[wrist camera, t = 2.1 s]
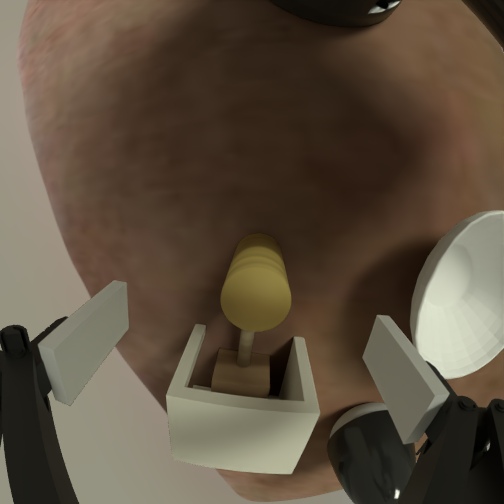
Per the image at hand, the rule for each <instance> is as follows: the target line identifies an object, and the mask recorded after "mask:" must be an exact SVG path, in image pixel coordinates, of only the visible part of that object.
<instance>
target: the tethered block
mask: <svg viewBox="0 0 504 504" xmlns="http://www.w3.org/2000/svg"><path fill="white" fill-rule="evenodd" d="M221 307H222V310H223V312H224V314H225V316H226V317H227V319H228V320H229V321H230V322H231V323H233V324H234V325H235V326H237V327H239V328H241V335H240V343H239V350H238V351H235V350H228V349H221V348H219V352H218V356H217V361H216V365H215V369H214V373H213V377H212V385H211V392H216V393H223V394H230V395H237V396H245V397H254V398H264V399H267V398H268V394H269V390H270V362H269V355H266V354H258V353H252V347H253V340H254V334H255V332H261V331H266V330H269V329H272V328H274V327H276V326H277V325H279V324H280V323H281V322H282V321H283V320H284V319H285V318H286V316H287V315H288V313H289V310H290V307H291V293H290V288H289V283H288V279H287V274H286V270H285V265H284V261H283V256H282V252H281V248H280V246H279V244H278V243H277V242H276V240H275V239H273V238H272V237H271V236H269V235H266V234H262V233H255V234H250V235H248V236H246V237H245V238H243V239H242V240H241V241H240V242H239V244H238V246H237V248H236V251H235V254H234V256H233V259H232V262H231V265H230V268H229V271H228V274H227V277H226V280H225V283H224V286H223V289H222V292H221Z"/></svg>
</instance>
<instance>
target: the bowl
mask: <svg viewBox="0 0 504 504" xmlns="http://www.w3.org/2000/svg"><path fill="white" fill-rule="evenodd" d="M410 328H411V334H412V341H413V346H414V347H415V348H416V350H417V351H418V352H419V354H420V355H421V356H422V357H423V359H424V360H425V361H428V362H429V363H431V364H432V365H434V366H435V367H436V368H437V370H438V371H439V372H440V375H442V376H443V377H444V378H445V379H452V378H458V377H463V376H465V375H468V374H470V373H472V372H474V371H477V370H478V369H480V368H481V367H482V366H484V365H485V364H487V363H488V362H490V361H491V360H492V359H493V358H494V357H495V356H496V355H497V354H498V353H499V352H500V351H501V350H502V349H503V348H504V211H497V210H495V211H486V212H480V213H477V214H474V215H472V216H470V217H468V218H466V219H464V220H462V221H461V222H459V223H457V224H456V225H455V226H454V227H453V228H452V229H451V230H450V231H448V232H447V233H446V234H445V235H444V236H443V237H442V238H441V239H440V240H439V242H438V243H437V244H436V246H435V247H434V249H433V250H432V251H431V253H430V254H429V255H428V257H427V259H426V261H425V263H424V265H423V268H422V270H421V272H420V274H419V276H418V279H417V282H416V286H415V289H414V293H413V296H412V303H411V315H410Z"/></svg>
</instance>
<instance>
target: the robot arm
mask: <svg viewBox="0 0 504 504" xmlns="http://www.w3.org/2000/svg"><path fill="white" fill-rule="evenodd" d="M270 1H272V2H273V3H275V4H276V5H278V6H279V7H281V8H283V9H284V10H286V11H288V12H290V13H293V14H295V15H297V16H300V17H302V18H305V19H308V20H311V21H315V22H318V23H322V24H327V25H333V26H341V27H361V26H368V25H372V24H376V23H378V22H381V21H383V20H384V19H386V18H387V17H389V16H390V15H391V14H392V12H393V11H394V10H395V9H396V8H397V7H398V6H399V4H400V3H401V1H402V0H270ZM462 1H463V2H464V3H465V4H466V5H467V6H468V8H469V9H470V10H471V11H472V12H473V13H474V14H475V15H476V16H477V17H478V18H479V20H480V21H481V22H482V23H483V24H484V25H485V26H486V28H487V29H488V30H489V31H490V32H491V34H492V35H493V36H494V37H495V39H496V40H497V41H498V43H499V44H500V45H501V47H502V48H503V51H504V0H462ZM128 329H129V320H128V302H127V282H122V281H116V280H114V281H112V282H111V283H110V284H109V285H107V286H106V287H105V288H104V289H102V290H101V291H100V292H99V293H97V294H96V295H95V296H94V297H92V298H91V299H90V300H89V301H88V302H86V303H85V304H84V305H83V306H82V307H80V308H79V309H78V310H77V311H76V312H74V313H73V314H72V315H71V316H70V317H63V318H60V319H58V320H56V321H55V322H54V323H52V324H51V325H50V327H48V328H46V329H45V331H43V332H42V333H41V334H39V335H38V336H37V337H36V338H35V339H34V340H32V341H31V342H30V341H29V337H28V333H27V329H26V328H24V327H23V326H20V325H11V326H7V327H5V328H3V329H2V330H1V331H0V344H1V348H2V351H1V350H0V445H1V439H2V434H3V442H4V451H5V459H6V466H7V472H8V478H9V484H10V488H11V493H12V497H13V502H14V504H79V502H78V500H77V497H76V495H75V492H74V489H73V487H72V484H71V481H70V478H69V475H68V472H67V469H66V466H65V463H64V460H63V457H62V453H61V449H60V446H59V443H58V439H57V434H56V430H55V426H54V421H53V417H52V412H51V406H50V401H49V398H48V396H47V394H48V393H49V392H50V391H51V390H52V391H53V394H54V397H55V399H56V400H58V401H60V402H62V403H64V404H67V405H69V406H71V404H72V403H73V402H74V400H75V399H76V397H77V396H78V395H79V393H80V392H81V391H82V389H83V388H84V387H85V385H86V384H87V382H88V381H89V379H90V378H91V377H92V375H93V374H94V373H95V372H96V370H97V369H98V367H99V366H100V365H101V364H102V362H103V361H104V360H105V358H106V357H107V356H108V354H109V353H110V352H111V351H112V349H113V348H114V347H115V345H116V344H117V343H118V342H119V340H120V339H121V338H122V336H123V335H124V334H125V333H126V331H127V330H128ZM362 358H363V360H364V362H365V364H366V366H367V368H368V370H369V372H370V374H371V376H372V378H373V380H374V382H375V384H376V386H377V388H378V390H379V392H380V395H381V397H382V399H383V401H384V403H385V405H386V407H387V409H388V411H389V413H390V416H391V418H392V420H393V422H394V424H395V426H396V429H397V431H398V433H399V435H400V437H401V440H402V442H403V444H408V443H414V442H418V441H419V440H420V438H421V437H422V436H423V434H424V433H426V435H427V437H428V439H427V440H426V441H425V443H424V444H423V445H422V447H421V448H420V449H419V450H418V452H417V453H416V455H418V454H419V453H420V452H421V453H420V455H419V458H418V460H417V463H416V465H415V467H414V470H413V472H412V474H411V476H410V479H409V481H408V483H407V485H406V487H405V489H404V491H403V493H402V495H401V497H400V499H399V501H398V503H397V504H504V400H501V399H493V400H492V401H491V402H490V404H489V405H488V407H487V408H482V407H478V406H477V405H476V403H475V402H474V401H473V400H472V399H470V398H468V397H465V396H457V395H456V393H455V392H454V391H453V389H452V388H451V387H450V385H449V384H448V383H447V381H446V380H444V377H443V376H442V375H440V372H439V371H438V370H437V368H436V367H435V366H434V365H432V364H431V363H429V362H428V361H425V360H424V359H423V357H422V356H421V355H420V354H419V352H418V351H417V350H416V348H415V347H414V346H413V345H412V343H411V342H410V341H409V340H408V338H407V337H406V336H405V335H404V333H403V332H402V331H401V330H400V329H399V327H398V326H397V325H396V324H395V322H394V321H393V320H392V319H391V318H390V316H385V315H377V316H376V319H375V323H374V326H373V329H372V332H371V334H370V337H369V340H368V343H367V346H366V349H365V351H364V354H363V357H362ZM489 443H490V448H489V450H488V451H487V445H488V444H489Z"/></svg>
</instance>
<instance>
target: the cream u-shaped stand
mask: <svg viewBox="0 0 504 504" xmlns="http://www.w3.org/2000/svg"><path fill="white" fill-rule="evenodd" d="M205 331H206V325H203V324H195V326H194V329H193V331H192V333H191V336H190V338H189V341H188V343H187V345H186V348H185V350H184V352H183V355H182V357H181V360H180V362H179V364H178V367H177V369H176V372H175V374H174V377H173V379H172V382H171V384H170V386H169V389H168V391H167V394H166V401H167V413H168V424H169V434H170V442H171V450H172V458H173V460H175V461H180V462H184V463H189V464H195V465H200V466H206V467H212V468H219V469H226V470H234V471H244V472H255V473H270V474H292V472H293V470H294V468H295V466H296V464H297V462H298V460H299V458H300V456H301V454H302V452H303V450H304V448H305V446H306V444H307V442H308V440H309V438H310V435H311V433H312V431H313V429H314V427H315V424H316V422H317V420H318V417H319V415H320V410H319V405H318V400H317V395H316V390H315V386H314V381H313V376H312V371H311V367H310V362H309V358H308V353H307V349H306V344H305V340H304V337H294V338H293V343H292V347H291V351H290V355H289V359H288V363H287V367H286V371H285V375H284V378H283V382H282V386H281V390H280V393H279V396H273V395H268V398H267V399H264V398H254V397H245V396H237V395H230V394H223V393H216V392H211V388H209V387H203V386H198V385H193V388H188V384H189V381H190V378H191V375H192V372H193V369H194V366H195V363H196V360H197V357H198V354H199V351H200V348H201V345H202V342H203V339H204V336H205Z"/></svg>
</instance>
